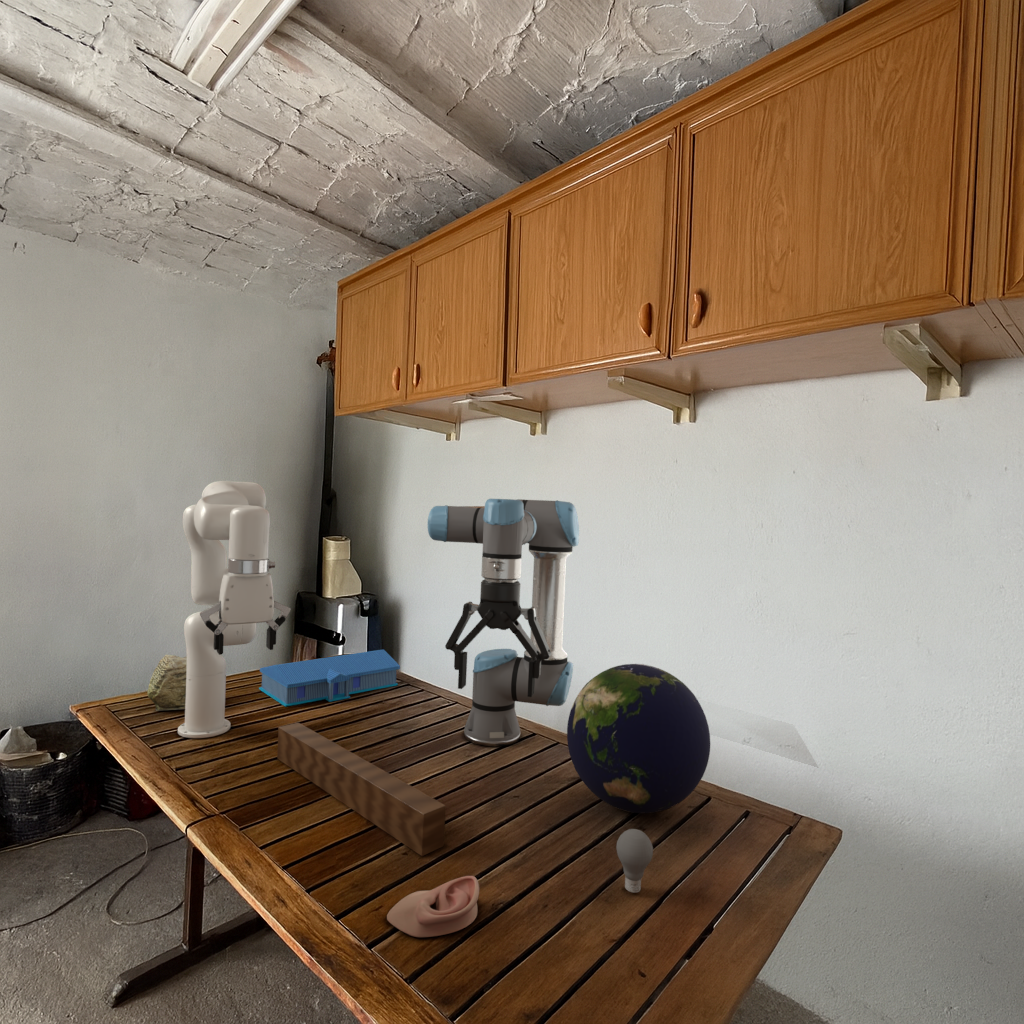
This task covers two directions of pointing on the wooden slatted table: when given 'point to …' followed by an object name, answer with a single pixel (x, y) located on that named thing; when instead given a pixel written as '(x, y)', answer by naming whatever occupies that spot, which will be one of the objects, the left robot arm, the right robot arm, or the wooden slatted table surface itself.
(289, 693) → the model building
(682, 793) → the globe
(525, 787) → the wooden slatted table surface
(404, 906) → the anatomical model
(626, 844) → the light bulb
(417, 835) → the beam
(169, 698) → the fossil
